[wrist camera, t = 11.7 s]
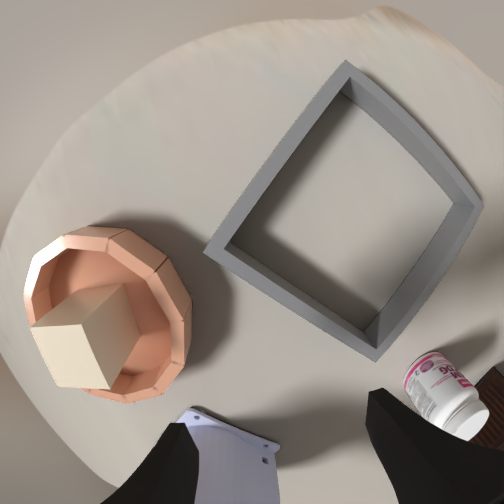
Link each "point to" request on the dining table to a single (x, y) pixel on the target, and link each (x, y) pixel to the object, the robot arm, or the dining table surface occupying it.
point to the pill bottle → (445, 396)
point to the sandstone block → (88, 337)
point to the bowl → (139, 294)
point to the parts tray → (428, 265)
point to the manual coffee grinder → (491, 410)
